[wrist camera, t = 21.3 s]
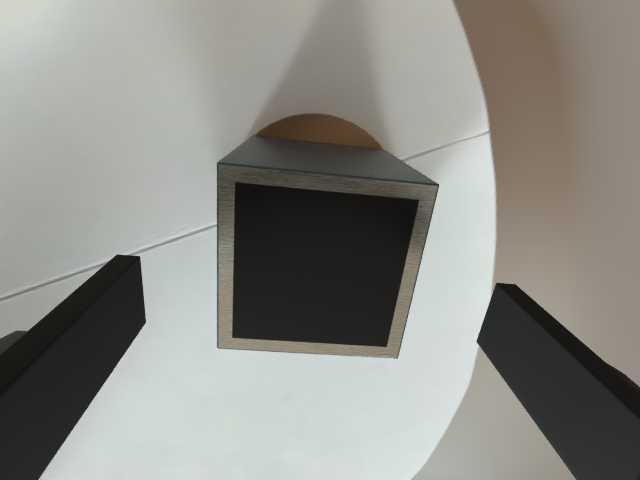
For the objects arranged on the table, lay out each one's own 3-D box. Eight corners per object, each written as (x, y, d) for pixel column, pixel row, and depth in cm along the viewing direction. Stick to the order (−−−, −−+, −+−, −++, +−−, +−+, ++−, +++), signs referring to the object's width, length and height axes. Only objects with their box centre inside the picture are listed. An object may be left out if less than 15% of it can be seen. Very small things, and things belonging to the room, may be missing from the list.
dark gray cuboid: (398, 359, 20) (440, 184, 16) (216, 349, 19) (216, 162, 15) (363, 264, 31) (383, 148, 27) (248, 255, 30) (253, 134, 26)
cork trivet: (192, 180, 28) (188, 182, 27) (338, 73, 26) (339, 73, 25) (293, 302, 33) (292, 307, 32) (424, 222, 30) (427, 225, 30)
